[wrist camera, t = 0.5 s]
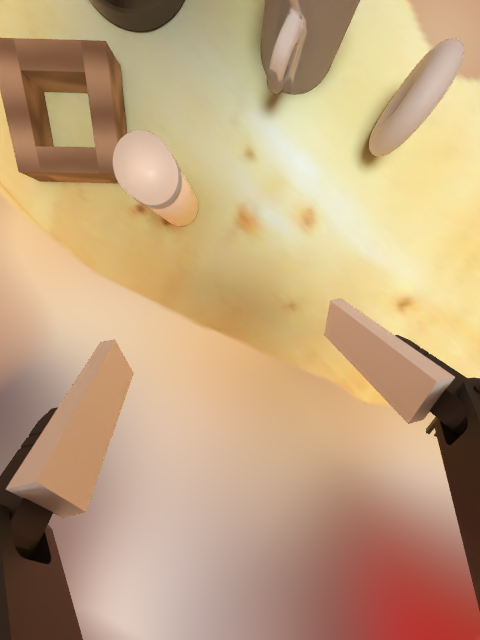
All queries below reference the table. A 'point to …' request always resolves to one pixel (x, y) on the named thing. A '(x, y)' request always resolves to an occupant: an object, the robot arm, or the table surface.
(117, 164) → the white cylinder
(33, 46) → the cradle
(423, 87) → the donut
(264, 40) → the coffee mug
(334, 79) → the table surface
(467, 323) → the table surface
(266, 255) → the table surface
